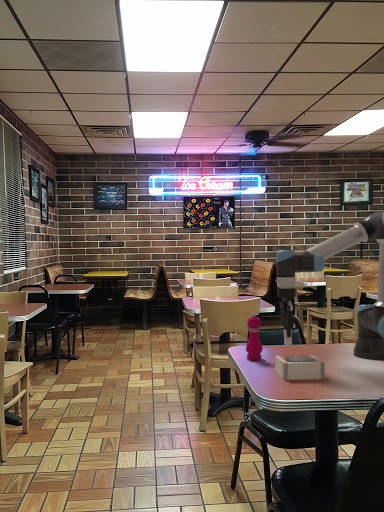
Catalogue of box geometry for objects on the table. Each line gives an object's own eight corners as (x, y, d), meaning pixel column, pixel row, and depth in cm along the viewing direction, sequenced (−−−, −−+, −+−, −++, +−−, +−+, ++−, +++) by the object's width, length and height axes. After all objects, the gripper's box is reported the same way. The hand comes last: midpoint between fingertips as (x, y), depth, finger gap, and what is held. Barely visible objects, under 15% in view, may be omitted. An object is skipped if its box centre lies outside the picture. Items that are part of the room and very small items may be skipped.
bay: (313, 370, 164) (313, 355, 164) (324, 379, 153) (324, 362, 153) (275, 371, 163) (275, 356, 163) (284, 380, 152) (284, 363, 152)
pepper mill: (262, 361, 180) (262, 314, 180) (245, 360, 181) (245, 313, 181) (262, 357, 187) (262, 312, 187) (246, 356, 188) (246, 311, 188)
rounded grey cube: (307, 373, 161) (307, 355, 162) (314, 378, 154) (314, 360, 154) (285, 373, 161) (285, 356, 161) (291, 379, 153) (291, 360, 153)
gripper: (273, 286, 180) (274, 342, 180) (281, 288, 167) (283, 348, 167) (290, 286, 181) (292, 341, 181) (300, 288, 168) (302, 347, 168)
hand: (288, 344), depth 174 cm, fingers closed
